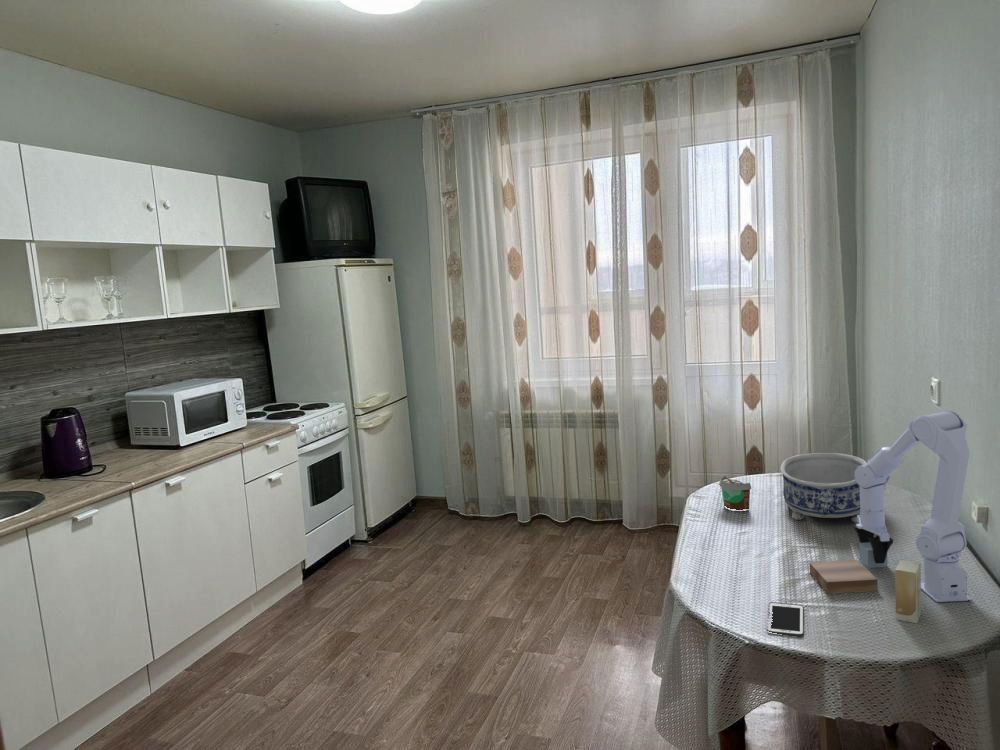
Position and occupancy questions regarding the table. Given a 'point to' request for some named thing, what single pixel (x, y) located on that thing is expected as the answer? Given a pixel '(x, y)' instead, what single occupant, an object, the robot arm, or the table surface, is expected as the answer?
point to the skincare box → (908, 591)
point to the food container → (735, 493)
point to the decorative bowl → (822, 485)
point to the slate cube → (869, 556)
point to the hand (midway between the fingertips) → (873, 557)
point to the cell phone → (787, 619)
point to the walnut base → (843, 576)
